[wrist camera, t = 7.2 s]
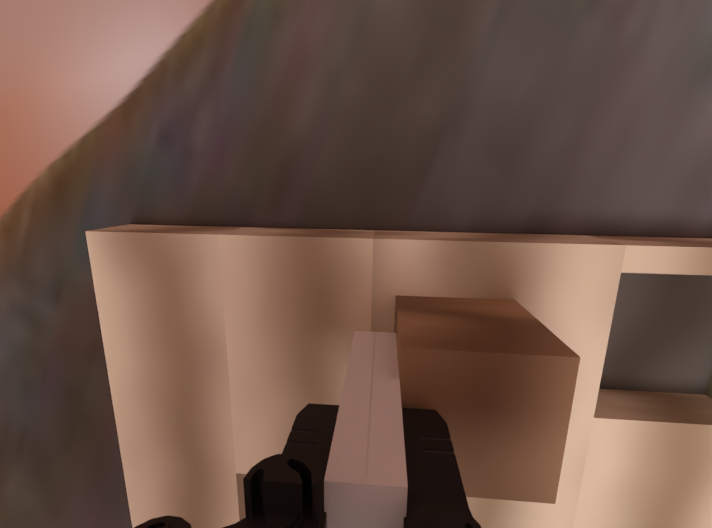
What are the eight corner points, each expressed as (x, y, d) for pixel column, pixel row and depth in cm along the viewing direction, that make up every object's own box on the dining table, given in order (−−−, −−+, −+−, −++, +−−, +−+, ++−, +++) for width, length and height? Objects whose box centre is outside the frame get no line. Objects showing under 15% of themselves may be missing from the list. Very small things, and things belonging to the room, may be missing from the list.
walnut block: (391, 399, 15) (394, 491, 10) (395, 295, 14) (401, 348, 9) (502, 405, 14) (555, 503, 10) (515, 300, 13) (580, 357, 9)
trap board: (169, 532, 20) (83, 671, 15) (129, 224, 16) (-12, 246, 11) (764, 588, 18) (945, 781, 12) (887, 242, 14) (1245, 284, 8)
